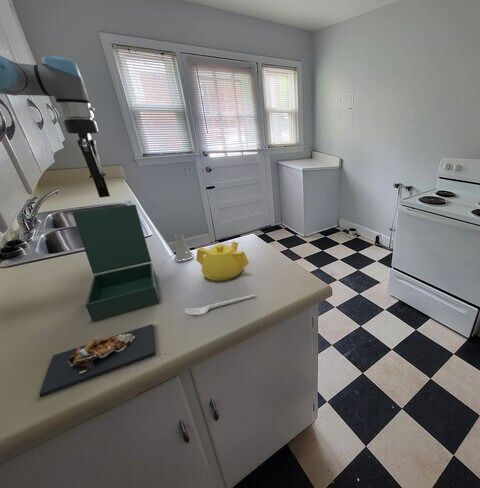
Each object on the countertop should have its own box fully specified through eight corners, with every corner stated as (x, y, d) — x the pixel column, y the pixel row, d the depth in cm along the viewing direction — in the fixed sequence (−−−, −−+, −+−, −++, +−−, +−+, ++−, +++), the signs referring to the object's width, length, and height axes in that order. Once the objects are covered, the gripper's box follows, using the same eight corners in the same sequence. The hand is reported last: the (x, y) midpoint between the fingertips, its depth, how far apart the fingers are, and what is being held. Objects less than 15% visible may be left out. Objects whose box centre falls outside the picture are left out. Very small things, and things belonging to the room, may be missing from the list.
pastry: (139, 340, 67) (135, 328, 66) (81, 376, 57) (75, 364, 56) (123, 331, 70) (119, 320, 69) (65, 364, 60) (59, 352, 59)
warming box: (159, 302, 83) (154, 287, 81) (92, 321, 75) (85, 305, 73) (155, 276, 98) (151, 262, 95) (99, 289, 90) (93, 275, 87)
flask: (195, 259, 110) (190, 236, 106) (176, 264, 106) (170, 240, 103) (192, 253, 116) (187, 231, 112) (173, 257, 112) (168, 235, 108)
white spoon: (256, 299, 84) (256, 294, 83) (186, 319, 76) (184, 313, 75) (254, 294, 87) (253, 289, 86) (185, 312, 78) (184, 307, 77)
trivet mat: (40, 397, 54) (38, 394, 53) (54, 357, 63) (53, 355, 63) (155, 354, 64) (154, 352, 63) (153, 326, 73) (152, 323, 73)
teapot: (261, 261, 108) (258, 235, 104) (240, 285, 92) (236, 256, 87) (215, 257, 112) (211, 232, 107) (187, 280, 95) (181, 251, 91)
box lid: (135, 204, 90) (135, 204, 90) (71, 212, 82) (72, 212, 82) (151, 261, 95) (151, 261, 96) (93, 274, 87) (93, 273, 88)
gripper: (92, 118, 78) (117, 198, 87) (97, 120, 88) (119, 191, 97) (57, 118, 74) (87, 202, 84) (67, 119, 84) (93, 194, 94)
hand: (104, 196), depth 90 cm, fingers closed
